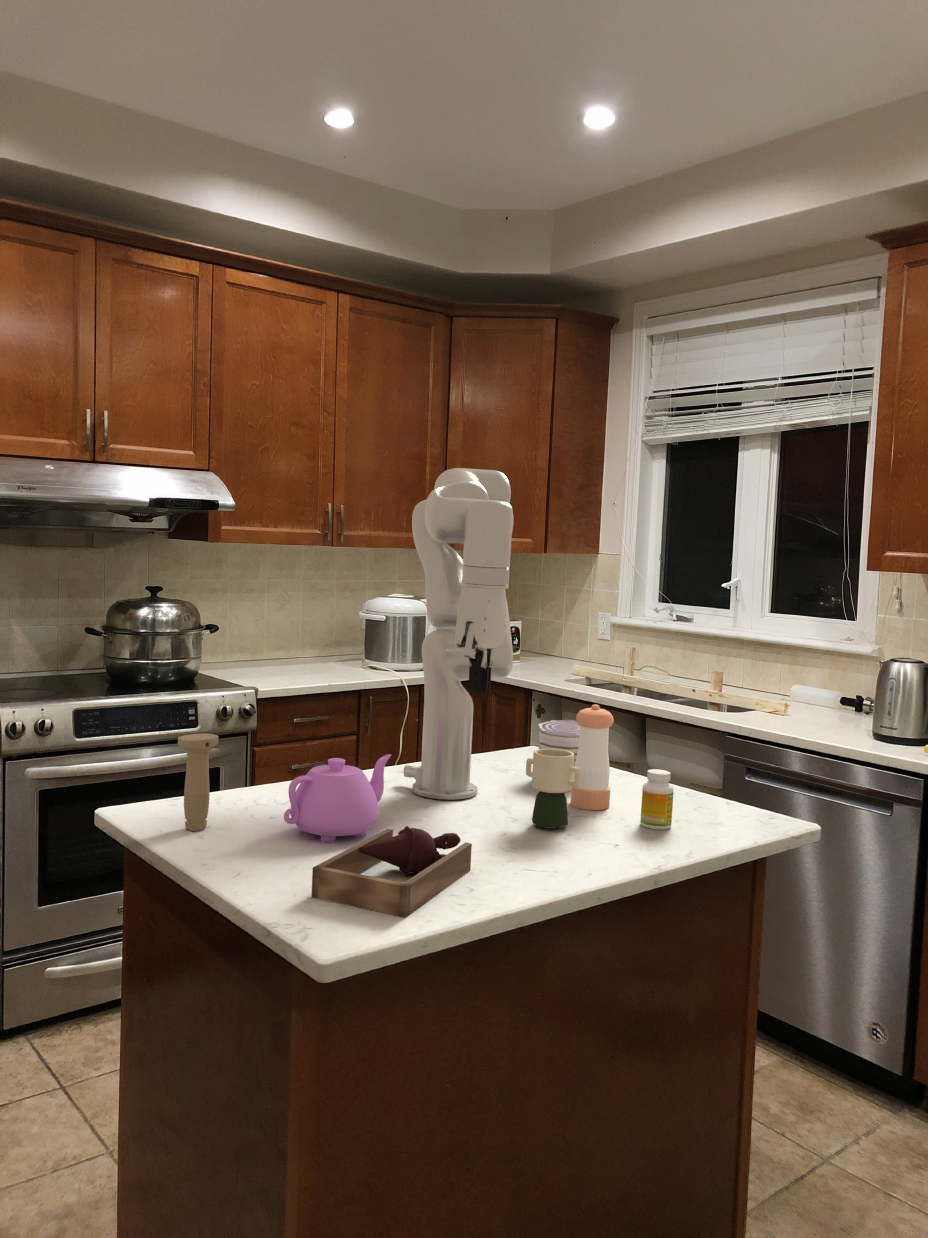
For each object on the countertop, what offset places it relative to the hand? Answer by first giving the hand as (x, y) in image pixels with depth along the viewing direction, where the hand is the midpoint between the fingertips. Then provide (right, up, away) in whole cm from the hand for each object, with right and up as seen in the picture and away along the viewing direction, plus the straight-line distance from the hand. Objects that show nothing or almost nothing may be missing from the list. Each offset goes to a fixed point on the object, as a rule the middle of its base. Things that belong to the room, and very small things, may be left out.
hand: (479, 690), depth 155 cm
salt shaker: (+21, -24, +26) cm, 41 cm away
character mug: (+12, -24, +10) cm, 29 cm away
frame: (-12, -25, -21) cm, 35 cm away
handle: (-46, -22, -1) cm, 51 cm away
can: (+18, -22, +44) cm, 52 cm away
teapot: (-23, -23, +1) cm, 33 cm away
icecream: (-10, -25, -17) cm, 32 cm away
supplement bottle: (+31, -25, +14) cm, 43 cm away
